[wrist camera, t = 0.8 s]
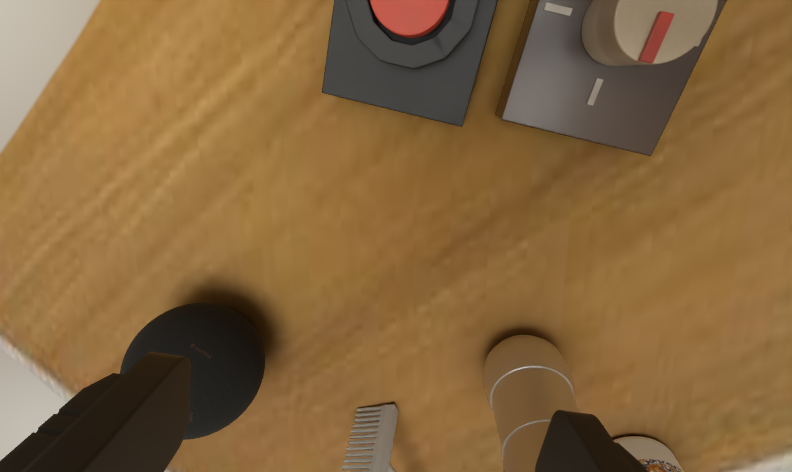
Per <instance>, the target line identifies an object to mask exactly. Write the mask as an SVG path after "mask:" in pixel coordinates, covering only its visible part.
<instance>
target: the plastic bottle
mask: <svg viewBox="0 0 792 472" xmlns="http://www.w3.org/2000/svg"><path fill="white" fill-rule="evenodd" d="M483 383H484V388H485V391H486V395H487V398H488V401H489V403H490V406H491V408H492V410H493V412H494V416H495V420H496V424H497V428H498V432H499V436H500V440H501V449H502V456H503V470H504V472H535V466H536V462H537V459H538V456H539V453H540V450H541V447H542V444H543V441H544V439H545V436H546V433H547V430H548V427H549V424H550V421H551V418H552V416H553V414H554V413H555V412H556V411H557V410H564V411H571V412H578V413H579V411H578V408H577V404H576V401H575V397H574V388H573V381H572V377H571V372H570V369H569V366H568V364H567V362H566V361H565V359H564V358H563V356H562V355H561V354H560V352H559V351H558V350H557V348H556V347H555V346H554V345H553V344H551V343H550V342H548V341H546V340H545V339H542V338H539V337H536V336H531V335H516V336H512V337H509V338H507V339H505V340H503V341H501V342H500V343H499V344H497V345H496V346H495V347H494V348H493V349H492V350H491V351H490V353H489V354H488V356H487V358H486V361H485V366H484V375H483Z"/></svg>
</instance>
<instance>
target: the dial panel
mask: <svg viewBox="0 0 792 472" xmlns="http://www.w3.org/2000/svg"><path fill="white" fill-rule="evenodd" d="M592 1H593V0H531V1H530V4H529V7H528V10H527V14H526V17H525V20H524V23H523V27H522V30H521V33H520V36H519V39H518V43H517V46H516V49H515V52H514V56H513V59H512V62H511V65H510V68H509V72H508V75H507V78H506V81H505V85H504V88H503V91H502V94H501V97H500V101H499V104H498V107H497V110H496V113H495V115H496V116H498V117H499V118H500V119H501V120H504V121H508V122H512V123H516V124H520V125H524V126H529V127H533V128H537V129H541V130H545V131H549V132H553V133H557V134H561V135H566V136H570V137H574V138H578V139H582V140H586V141H590V142H594V143H598V144H603V145H607V146H611V147H615V148H619V149H623V150H627V151H631V152H635V153H640V154H644V155H648V156H651V155H652V153H653V151H654V149H655V147H656V145H657V143H658V141H659V139H660V137H661V135H662V133H663V131H664V129H665V127H666V124H667V122H668V120H669V118H670V116H671V114H672V112H673V110H674V108H675V106H676V104H677V102H678V100H679V98H680V96H681V94H682V91H683V89H684V87H685V85H686V83H687V81H688V79H689V77H690V75H691V73H692V71H693V69H694V67H695V65H696V63H697V61H698V59H699V56H700V54H701V52H702V50H703V48H704V46H705V44H706V42H707V40H708V38H709V36H710V34H711V32H712V30H713V28H714V26H715V24H716V21H717V19H718V17H719V15H720V13H721V11H722V9H723V7H724V5H725V3H726V1H727V0H718V3H717V9H716V13H715V16H714V19H713V21H712V23H711V25H710V27H709V29H708V30H707V32H706V33H705V35H704V36H703V37H702V39H701V40H700V41H699V42H698V43H697V44H696V45H695V46H694V47H693V48H692V49H691V50H689V51H688V52H687V53H685V54H684V55H682V56H681V57H679V58H676V59H674V60H672V61H669V62H666V63H662V64H652V65H629V66H608V65H604V64H601V63H599V62H597V61H595V60H594V59H593V58H592V57H591V56H590V55H589V54H588V52H587V51H586V49H585V47H584V44H583V40H582V23H583V19H584V16H585V13H586V11H587V9H588V7H589V5H590V4H591V2H592Z"/></svg>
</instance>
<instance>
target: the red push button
mask: <svg viewBox="0 0 792 472" xmlns="http://www.w3.org/2000/svg"><path fill="white" fill-rule="evenodd" d="M370 2H371V6H372V9H373V11H374V13H375V15H376V17H377V18H378V20H379V21H380V22H381V23H382V24H383V25H384V26H385V27H386V28H387V29H389V30H390V31H391V32H393V33H394V34H396V35H398V36H401V37H405V38H418V37H421V36H424V35H426V34H428V33H430V32H431V31H433V30H434V29H435V28H436V27H437V26H438V25H439V24H440V23H441V21H442V20H443V18H444V16H445V14H446V12H447V10H448V6H449V2H450V0H370Z"/></svg>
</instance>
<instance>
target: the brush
mask: <svg viewBox="0 0 792 472" xmlns="http://www.w3.org/2000/svg"><path fill="white" fill-rule="evenodd" d="M380 410H381V411H380ZM357 411H358V412H365V411H376V412H367V413H358V414H356V415H355V416H356V417H365V416H379V417H369V418H359V419H354V421H355V422H370V421H379V422H372V423H362V424H353V427H354V428H361V427H377V428H366V429H354V430H351V432H352V433H369V432H377V433H372V434H361V435H351V436H350V438H351V439H361V438H375V439H370V440H357V441H348V443H349V445H355V444H374V445H367V446H354V447H347V448H346V449H347V450H348V451H356V450H373V451H369V452H355V453H345V456H346V457H363V456H372V457H371V458H356V459H344V460H343V462H344V463H370V464H363V465H344V466H342V467H341V468H342V469H343V470H346V469H369V470H368V471H352V472H396V471H395V470H394V468H393V467H392V466H391V464H390V457H391V452H392V446H393V440H394V434H395V428H396V423H397V417H398V409H397V408H396V406H395V405H394V404H392V405H383V406H377V407H367V408H357Z"/></svg>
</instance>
